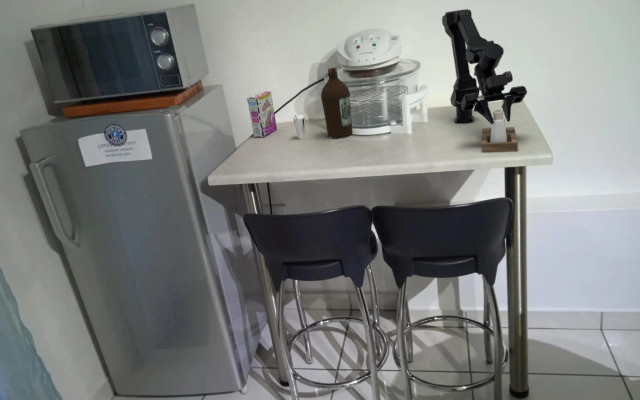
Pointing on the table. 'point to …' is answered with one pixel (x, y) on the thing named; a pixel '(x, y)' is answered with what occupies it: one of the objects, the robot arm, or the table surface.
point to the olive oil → (336, 106)
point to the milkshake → (300, 126)
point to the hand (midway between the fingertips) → (500, 122)
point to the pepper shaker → (498, 128)
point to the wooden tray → (499, 146)
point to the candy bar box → (262, 114)
